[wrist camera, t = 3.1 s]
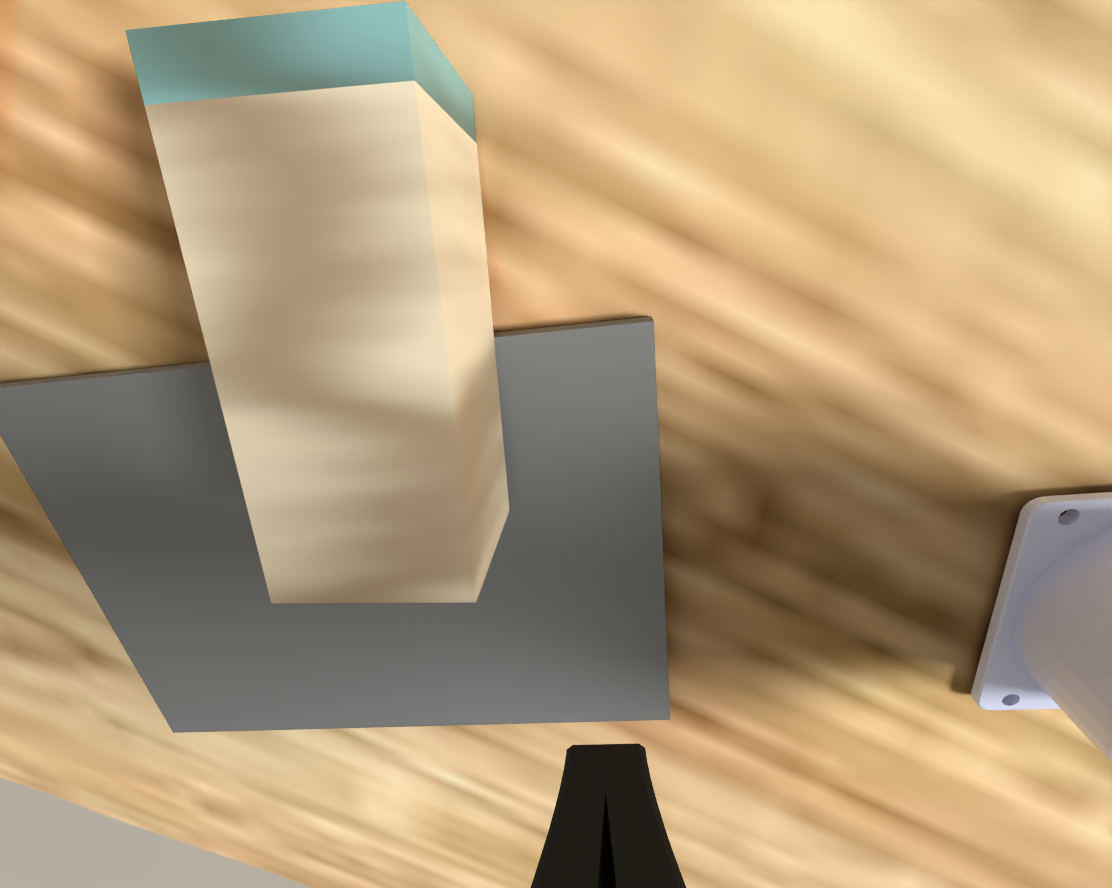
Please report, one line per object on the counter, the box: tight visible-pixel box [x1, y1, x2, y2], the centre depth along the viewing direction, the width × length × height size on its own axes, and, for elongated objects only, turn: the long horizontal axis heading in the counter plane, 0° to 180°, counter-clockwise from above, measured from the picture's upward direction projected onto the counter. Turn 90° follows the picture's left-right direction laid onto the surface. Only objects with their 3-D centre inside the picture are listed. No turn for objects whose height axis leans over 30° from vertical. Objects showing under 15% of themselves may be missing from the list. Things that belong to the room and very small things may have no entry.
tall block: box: [125, 1, 509, 603], centre depth 12 cm, size 4×4×10 cm
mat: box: [0, 317, 670, 733], centre depth 17 cm, size 19×14×1 cm
